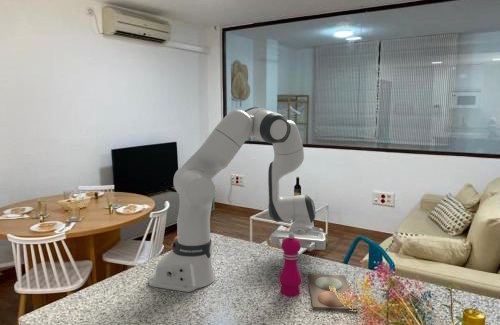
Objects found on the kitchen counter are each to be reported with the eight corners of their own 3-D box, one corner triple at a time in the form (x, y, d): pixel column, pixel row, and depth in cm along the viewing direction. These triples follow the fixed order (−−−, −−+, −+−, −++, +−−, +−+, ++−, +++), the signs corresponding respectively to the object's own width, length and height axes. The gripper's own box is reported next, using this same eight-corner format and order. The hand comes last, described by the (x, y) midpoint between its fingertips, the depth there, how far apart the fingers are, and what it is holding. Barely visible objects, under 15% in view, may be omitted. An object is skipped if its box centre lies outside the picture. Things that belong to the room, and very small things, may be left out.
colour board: (312, 309, 111) (312, 305, 110) (307, 276, 132) (307, 272, 132) (357, 312, 110) (357, 308, 109) (344, 278, 131) (344, 274, 131)
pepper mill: (300, 299, 117) (302, 238, 114) (277, 296, 118) (278, 236, 115) (301, 288, 124) (303, 230, 121) (280, 285, 125) (281, 228, 122)
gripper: (273, 224, 145) (266, 236, 132) (327, 229, 140) (324, 242, 127) (273, 239, 146) (266, 252, 133) (326, 245, 141) (324, 259, 128)
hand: (295, 247), depth 130 cm, fingers open, 8 cm apart
